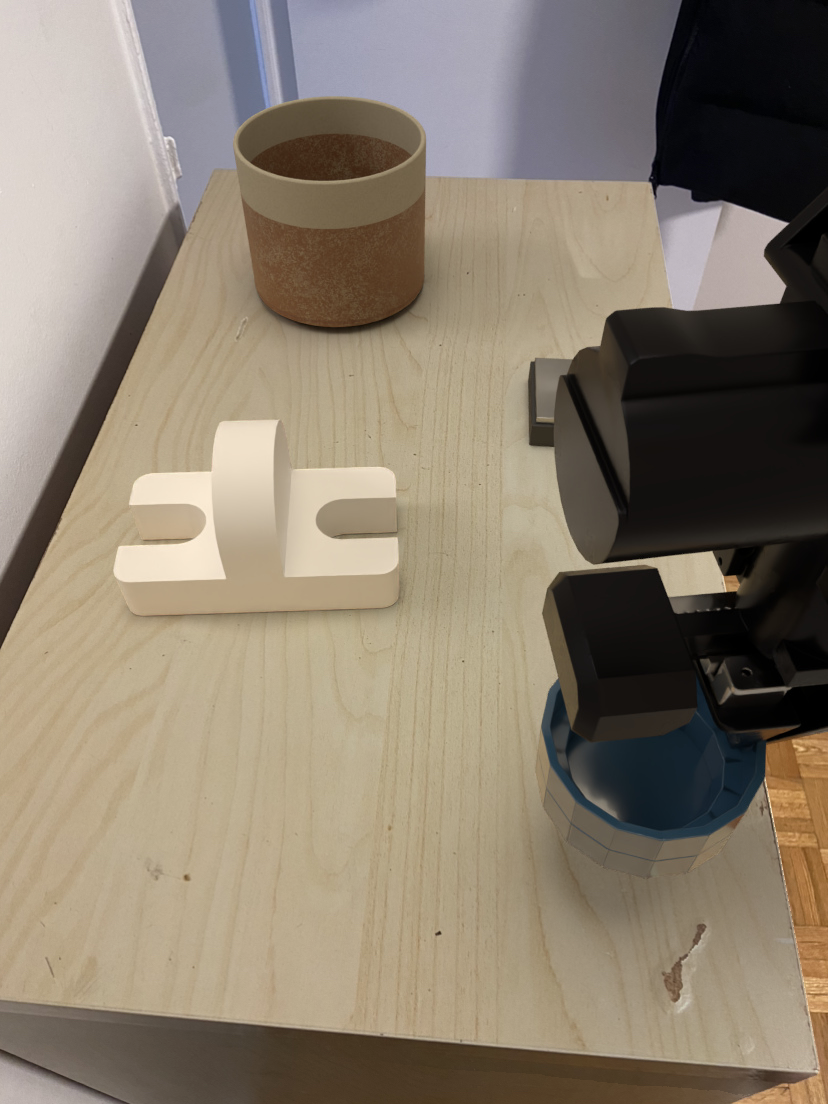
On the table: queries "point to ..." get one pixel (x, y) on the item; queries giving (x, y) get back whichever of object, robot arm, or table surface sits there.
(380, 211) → the planter
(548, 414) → the scale
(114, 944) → the table surface
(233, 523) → the slotted base with upright
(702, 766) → the bowl
